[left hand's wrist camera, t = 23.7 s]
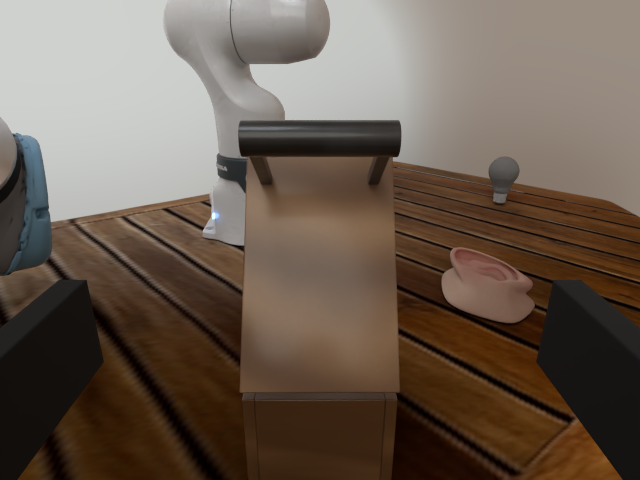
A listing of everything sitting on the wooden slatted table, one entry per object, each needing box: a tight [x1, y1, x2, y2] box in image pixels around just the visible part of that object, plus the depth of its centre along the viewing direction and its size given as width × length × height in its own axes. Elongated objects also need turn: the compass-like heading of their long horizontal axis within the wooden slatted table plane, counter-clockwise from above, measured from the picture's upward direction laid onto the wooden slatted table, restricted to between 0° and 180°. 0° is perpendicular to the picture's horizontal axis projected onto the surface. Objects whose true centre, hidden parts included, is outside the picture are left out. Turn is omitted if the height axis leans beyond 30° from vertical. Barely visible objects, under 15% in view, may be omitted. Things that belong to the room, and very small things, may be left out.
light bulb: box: [489, 157, 519, 204], centre depth 95 cm, size 6×6×10 cm
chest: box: [242, 393, 398, 480], centre depth 35 cm, size 15×9×9 cm, turn 0°
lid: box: [238, 120, 401, 393], centre depth 24 cm, size 16×9×8 cm
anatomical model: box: [442, 247, 535, 323], centre depth 57 cm, size 13×4×12 cm
